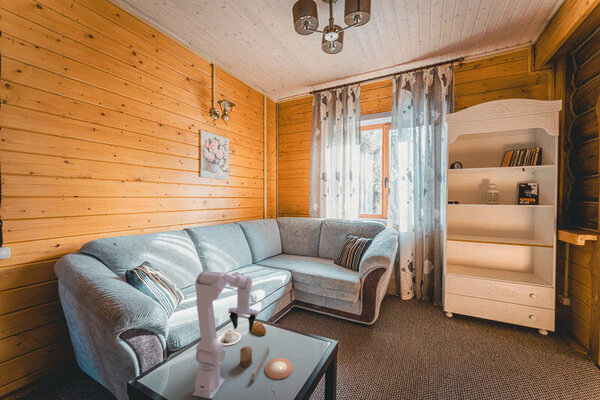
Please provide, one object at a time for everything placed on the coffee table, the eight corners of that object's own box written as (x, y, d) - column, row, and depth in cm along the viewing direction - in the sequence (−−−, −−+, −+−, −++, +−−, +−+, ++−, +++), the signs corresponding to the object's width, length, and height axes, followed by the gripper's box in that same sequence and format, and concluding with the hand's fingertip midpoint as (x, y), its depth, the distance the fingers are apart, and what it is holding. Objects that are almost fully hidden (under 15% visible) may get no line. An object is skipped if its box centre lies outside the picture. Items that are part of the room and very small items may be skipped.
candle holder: (230, 330, 134) (230, 322, 134) (246, 337, 127) (246, 329, 127) (212, 341, 124) (212, 332, 124) (227, 349, 118) (227, 340, 117)
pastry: (269, 333, 132) (269, 326, 132) (259, 338, 127) (259, 331, 127) (259, 326, 138) (259, 319, 138) (249, 331, 134) (249, 324, 134)
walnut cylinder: (249, 368, 105) (249, 354, 105) (238, 366, 106) (238, 352, 106) (253, 360, 110) (253, 347, 110) (243, 358, 111) (243, 345, 111)
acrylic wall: (254, 381, 98) (254, 374, 97) (251, 380, 98) (251, 373, 98) (269, 352, 115) (269, 346, 115) (266, 352, 115) (266, 346, 115)
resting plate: (288, 381, 98) (288, 379, 98) (260, 376, 100) (260, 374, 100) (295, 361, 109) (295, 360, 109) (270, 357, 112) (270, 356, 112)
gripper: (260, 299, 120) (260, 326, 120) (233, 296, 122) (233, 323, 123) (255, 305, 113) (255, 334, 113) (226, 302, 116) (226, 330, 116)
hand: (243, 329), depth 117 cm, fingers open, 7 cm apart
